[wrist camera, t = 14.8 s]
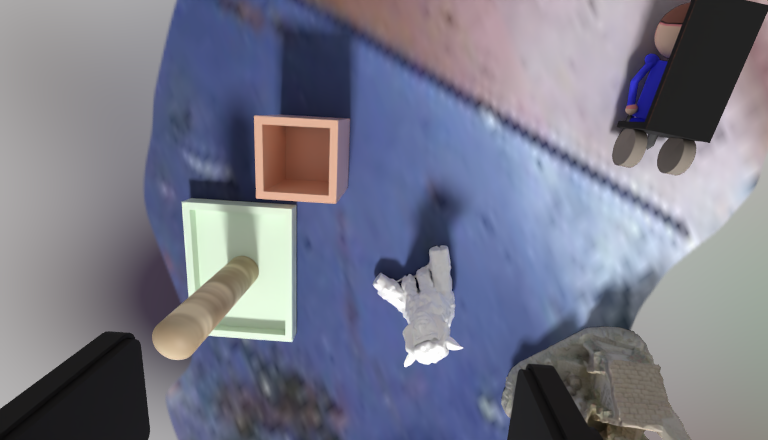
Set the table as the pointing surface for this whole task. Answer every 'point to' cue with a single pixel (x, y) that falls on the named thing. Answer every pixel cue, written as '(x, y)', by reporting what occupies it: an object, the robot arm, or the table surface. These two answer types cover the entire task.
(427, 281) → the sitting furry creature
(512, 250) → the table surface
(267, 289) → the tray
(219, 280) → the dowel
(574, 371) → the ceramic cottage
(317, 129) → the pink open box
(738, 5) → the figurine character
